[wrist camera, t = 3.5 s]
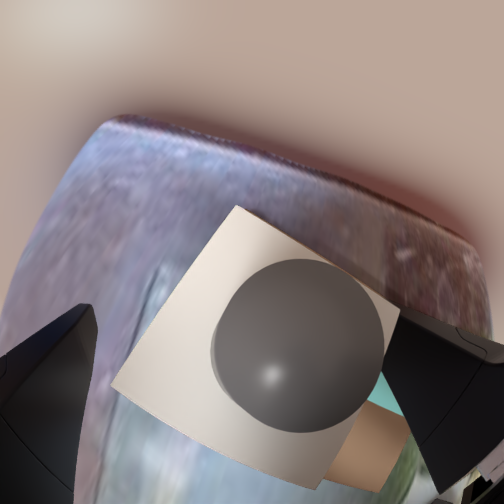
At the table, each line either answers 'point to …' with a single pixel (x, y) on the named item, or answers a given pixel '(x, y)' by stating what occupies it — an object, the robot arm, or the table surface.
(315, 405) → the capped white bottle
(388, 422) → the board
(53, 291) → the table surface
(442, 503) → the disk drive
